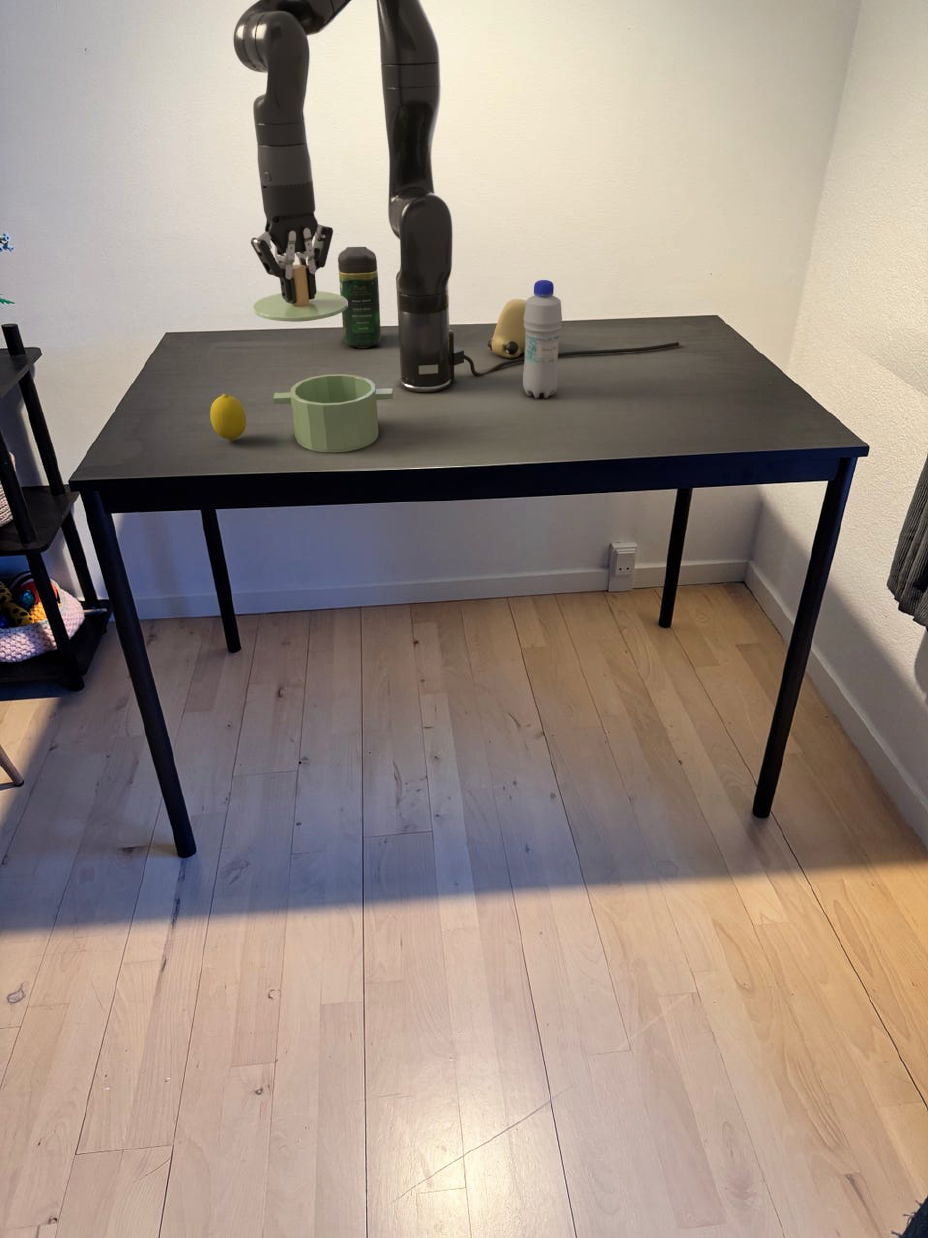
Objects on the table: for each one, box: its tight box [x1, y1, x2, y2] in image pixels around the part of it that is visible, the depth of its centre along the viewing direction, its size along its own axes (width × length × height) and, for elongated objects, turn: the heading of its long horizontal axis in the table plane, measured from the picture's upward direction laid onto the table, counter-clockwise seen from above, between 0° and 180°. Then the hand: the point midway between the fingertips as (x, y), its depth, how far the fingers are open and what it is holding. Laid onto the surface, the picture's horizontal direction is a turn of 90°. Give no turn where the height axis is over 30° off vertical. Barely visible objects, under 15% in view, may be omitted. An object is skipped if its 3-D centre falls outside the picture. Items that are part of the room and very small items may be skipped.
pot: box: [273, 373, 394, 454], centre depth 145 cm, size 14×19×8 cm
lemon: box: [209, 393, 247, 442], centre depth 143 cm, size 6×6×8 cm
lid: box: [252, 264, 348, 323], centre depth 137 cm, size 15×15×7 cm
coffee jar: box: [337, 246, 382, 349], centre depth 182 cm, size 10×8×19 cm
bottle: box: [522, 279, 563, 399], centre depth 156 cm, size 7×7×20 cm
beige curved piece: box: [487, 298, 527, 359], centre depth 178 cm, size 10×12×11 cm
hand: (300, 299), depth 138 cm, fingers closed on lid, 3 cm apart
